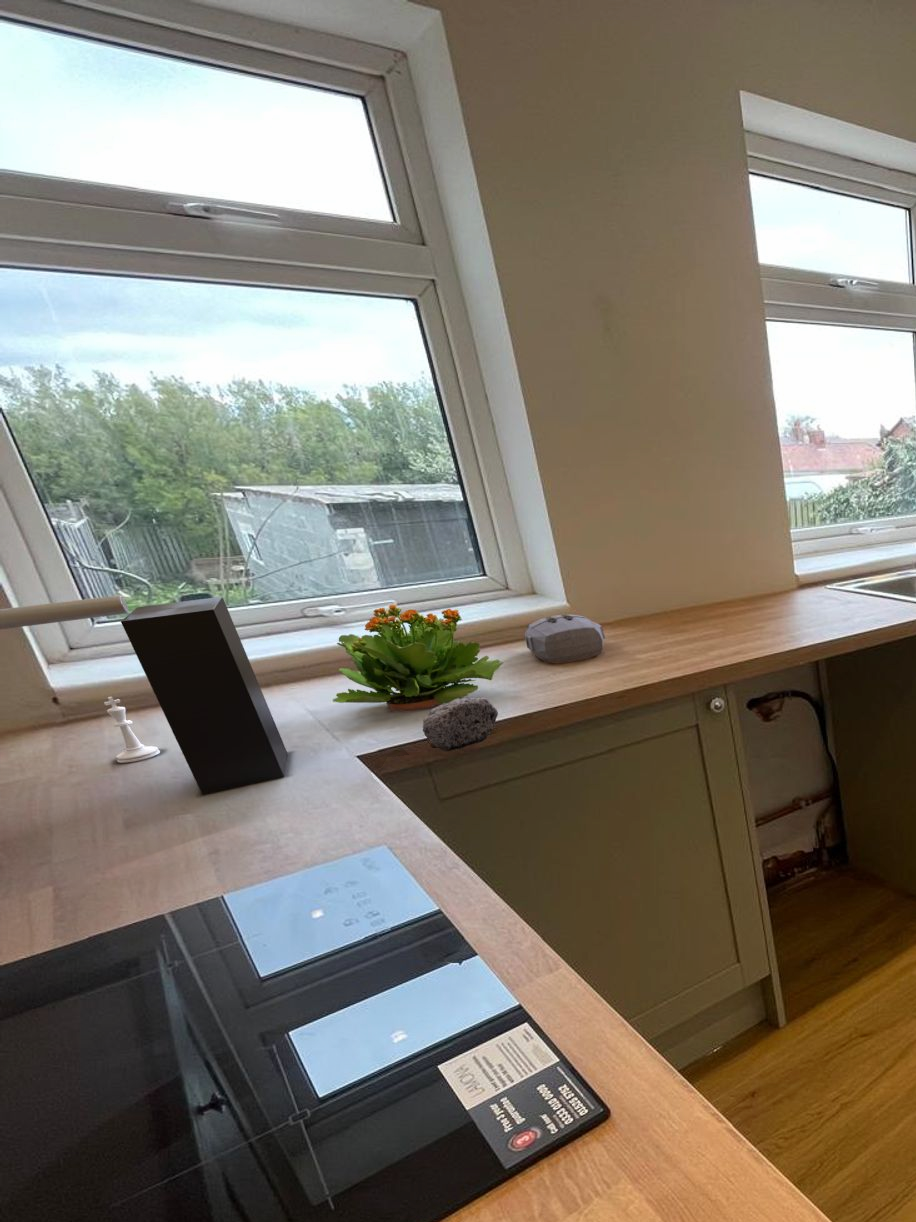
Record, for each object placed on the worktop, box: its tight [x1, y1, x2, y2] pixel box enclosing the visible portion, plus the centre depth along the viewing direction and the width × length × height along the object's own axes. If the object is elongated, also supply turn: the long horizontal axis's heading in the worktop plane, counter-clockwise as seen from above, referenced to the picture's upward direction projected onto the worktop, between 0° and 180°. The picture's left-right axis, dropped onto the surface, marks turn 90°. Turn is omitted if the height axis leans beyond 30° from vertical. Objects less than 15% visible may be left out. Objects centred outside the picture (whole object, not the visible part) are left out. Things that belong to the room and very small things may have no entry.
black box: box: [120, 596, 288, 796], centre depth 115 cm, size 9×12×25 cm
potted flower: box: [332, 604, 504, 712], centre depth 145 cm, size 25×24×18 cm
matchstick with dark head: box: [0, 594, 130, 630], centre depth 103 cm, size 18×3×3 cm, turn 128°
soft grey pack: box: [524, 613, 606, 664], centre depth 176 cm, size 15×8×20 cm
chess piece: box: [103, 696, 161, 764], centre depth 127 cm, size 5×5×10 cm
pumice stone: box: [422, 697, 499, 752], centre depth 128 cm, size 10×8×10 cm
